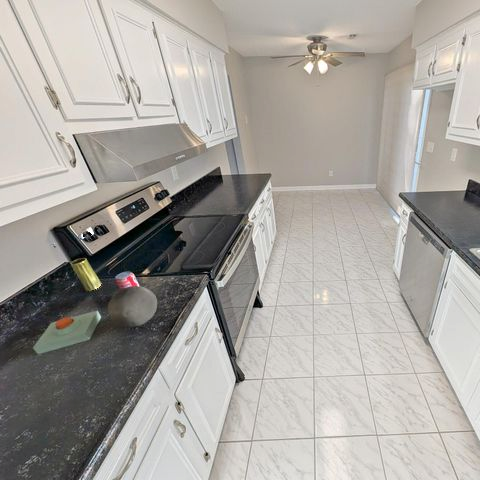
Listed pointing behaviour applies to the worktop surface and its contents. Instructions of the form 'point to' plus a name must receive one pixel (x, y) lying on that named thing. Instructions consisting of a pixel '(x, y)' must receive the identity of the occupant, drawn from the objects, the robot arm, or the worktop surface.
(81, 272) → the vase
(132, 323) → the cantaloupe
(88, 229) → the robot arm
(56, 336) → the green push-button pad
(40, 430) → the worktop surface
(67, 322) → the button
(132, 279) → the soda can
